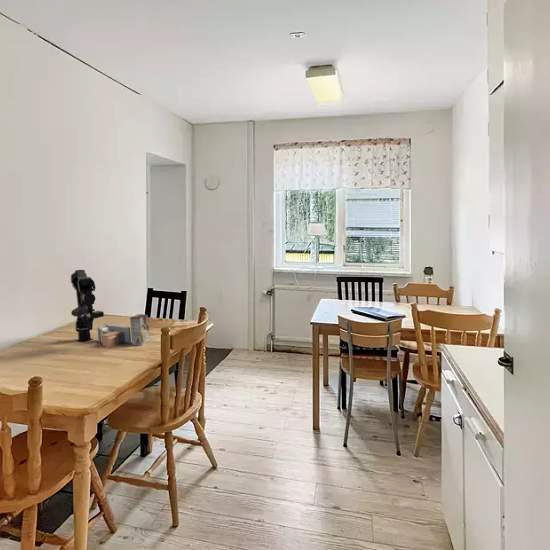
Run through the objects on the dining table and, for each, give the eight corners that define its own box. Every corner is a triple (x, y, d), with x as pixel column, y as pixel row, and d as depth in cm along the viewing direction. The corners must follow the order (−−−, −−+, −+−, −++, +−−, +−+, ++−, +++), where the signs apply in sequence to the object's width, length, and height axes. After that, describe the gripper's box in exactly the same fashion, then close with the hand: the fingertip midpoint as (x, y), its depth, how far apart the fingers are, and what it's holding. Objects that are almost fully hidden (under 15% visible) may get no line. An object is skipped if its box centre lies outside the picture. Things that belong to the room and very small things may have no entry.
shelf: (98, 342, 241) (96, 327, 240) (106, 339, 247) (105, 324, 246) (122, 345, 233) (121, 330, 232) (131, 342, 239) (130, 327, 238)
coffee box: (139, 340, 243) (138, 314, 241) (149, 341, 242) (148, 314, 240) (131, 345, 234) (129, 317, 232) (141, 345, 233) (140, 317, 231)
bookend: (116, 344, 236) (115, 334, 235) (123, 342, 240) (122, 332, 239) (122, 345, 234) (122, 335, 233) (129, 343, 238) (128, 333, 237)
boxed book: (102, 346, 233) (101, 335, 233) (115, 341, 242) (115, 330, 242) (108, 347, 231) (107, 335, 231) (121, 342, 240) (121, 331, 240)
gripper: (61, 302, 223) (64, 330, 225) (87, 305, 216) (88, 334, 218) (79, 298, 233) (81, 325, 236) (103, 301, 226) (105, 328, 228)
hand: (88, 328), depth 229 cm, fingers closed
